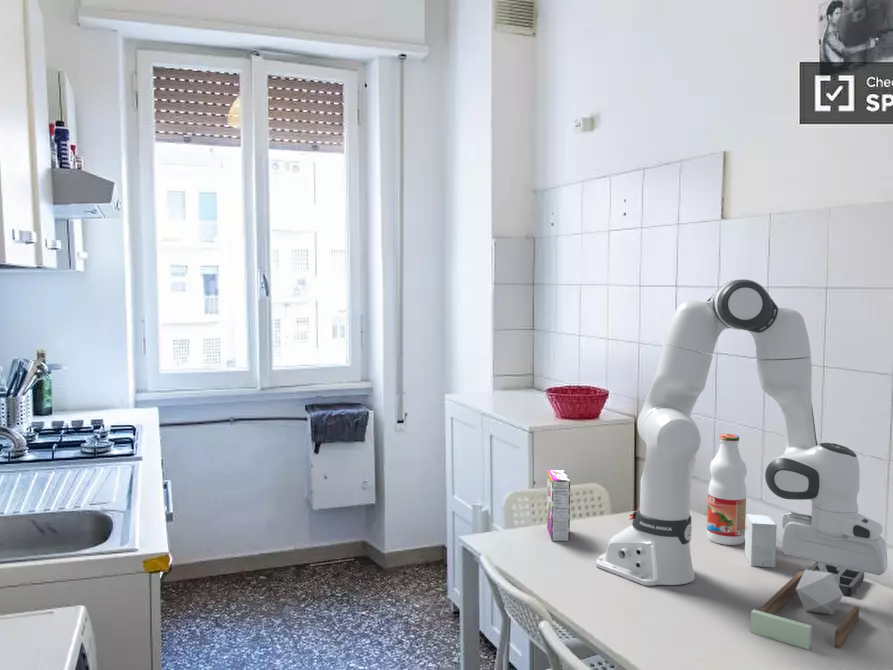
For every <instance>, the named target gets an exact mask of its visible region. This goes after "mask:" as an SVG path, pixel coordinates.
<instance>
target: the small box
mask: <svg viewBox="0 0 893 670" xmlns="http://www.w3.org/2000/svg"><path fill="white" fill-rule="evenodd" d="M776 549H777V524H776V523H775V521H774V520H773V519H772V517H771V516H770V515H764V514H751V513H746V517H745V539H744V556H745V557H746V559H747V561H748V562H749V564H750V566H751V567H764V568H776V559H777V558H776V555H777V551H776Z"/></svg>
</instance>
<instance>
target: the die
mask: <svg viewBox="0 0 893 670" xmlns="http://www.w3.org/2000/svg"><path fill="white" fill-rule="evenodd" d="M803 572H804V573H803V575H802V577H801V579H800V582H799V584H798V586H797V588H796V591H797V593H796V594H797V595H798V598H799V600H800V602H801V603H802V607H803V608H804V611H806V612H809V613H818V614H825V615H834V613H835V612H836V610H837V608H838V606H839V604H840V603H841V599H842V598H843V596H844V595H843V594H842V592H841V590H840V588H839V586H838V584H837V582H836V580H835V578H834V576H833V574H832V573H828V572H820V571H812V570H809V569H805V570H804V571H803Z"/></svg>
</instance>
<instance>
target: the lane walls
mask: <svg viewBox="0 0 893 670" xmlns="http://www.w3.org/2000/svg"><path fill="white" fill-rule="evenodd" d="M803 573H804V571H801V570H799V571H798V572H797V573H796V574H795V575H794V576H792V578H790V579H789V581H787V583H785V584H784V585H783V586H782V587H781V588H780V589H779V590H778V591H776V593H775V594H774V595H772V597H770V598H769V599H768V600H767V601H766V602H765V603H764V604H763V605H762V606H761V607H760V608H759V609H757V610H758V611H762V612H765V613H769V614H772V615H776V614H777V613H778V612H779V611H780V610H781V609H782V608H783V607H784V606H785V605H787V603H788V602H789V601H790V600H791V599H792V598H793V597H794V596H795V595H796V594H798V593H797V591H796V588H797V586H798V584H799V582H800V579H801V577H802V575H803ZM859 620H860V606H858V605H854V606H853V607H852V609H851V610H850V611H849V613H848V614H847V615H846V616H845V618H844V619H843V620H842V622H841V623H840V624H839V625H838V627H837V628H836V629H835V633H834V647H835V648H838V649H840V648H841V647H842V645H843V644H844V642H845V641H846V639H848V637H849V636H850V634H851V633H852V631H853V630H854V628H855V627H856V626H857V625H858V623H859V622H860V621H859Z"/></svg>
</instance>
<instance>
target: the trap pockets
mask: <svg viewBox="0 0 893 670" xmlns="http://www.w3.org/2000/svg"><path fill="white" fill-rule="evenodd" d="M825 567H826V569H827V571H828V573H832V574H833V575H837V574H838V573H839V571H837V566H836V565H832V564H827V565H826V566H825ZM808 570H812V571H820V569H819V567H818V561H815V563H814V564H813V565H812V566H811V567H809V569H808ZM820 572H821V571H820ZM863 580H864V581H865V572H862V571H858V570H853V569H849V568H846V570H845V571H844V573H843V574H842V575H841V576H840V583H839V585H838V586H839V588H840V590H841V592H842V594H843V596H846V597H850V598H851V597H852V596H853V595H854V594H855V592H856V591H857V590H858V589H859V588H858V587H860V586H861V585H862V584H863V583H864V581H863ZM862 582H863V583H862ZM861 583H862V584H861Z"/></svg>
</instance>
